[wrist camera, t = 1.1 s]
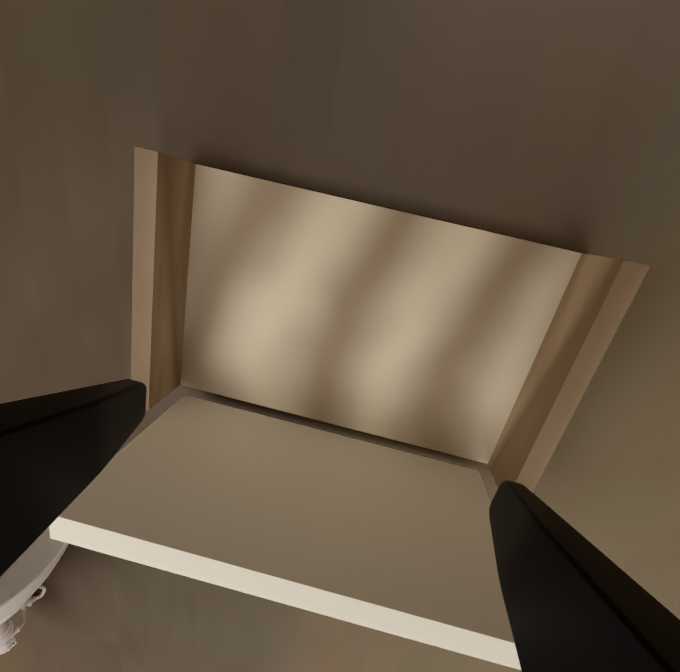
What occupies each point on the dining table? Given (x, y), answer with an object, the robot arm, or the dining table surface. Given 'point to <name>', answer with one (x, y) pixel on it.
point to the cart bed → (366, 314)
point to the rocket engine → (26, 583)
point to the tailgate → (304, 524)
